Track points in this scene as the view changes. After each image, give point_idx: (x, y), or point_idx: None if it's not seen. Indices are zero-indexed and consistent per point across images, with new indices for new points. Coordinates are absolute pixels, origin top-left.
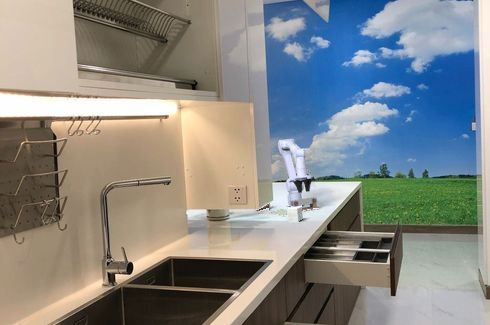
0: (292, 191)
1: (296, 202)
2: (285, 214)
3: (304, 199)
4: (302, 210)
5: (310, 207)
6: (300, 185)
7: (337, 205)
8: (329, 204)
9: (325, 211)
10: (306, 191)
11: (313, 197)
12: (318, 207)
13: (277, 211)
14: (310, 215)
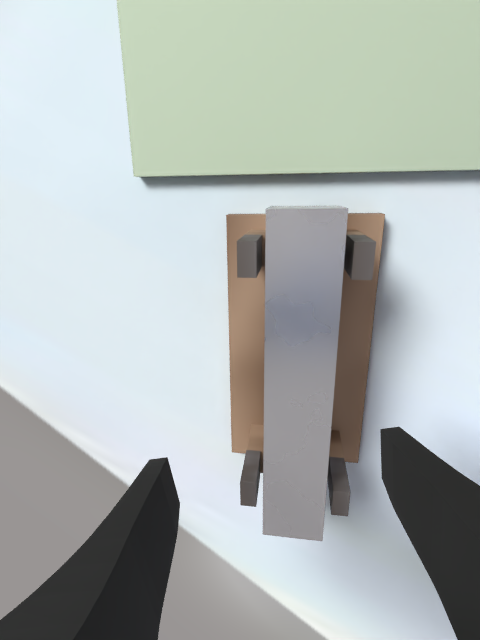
0: None
1: (238, 251)
2: (124, 10)
3: (267, 392)
4: (229, 288)
5: None
6: (458, 602)
7: (276, 598)
8: (374, 601)
9: (100, 414)
10: (152, 460)
11: (317, 528)
12: (236, 450)
13: (416, 21)
14: (3, 236)
